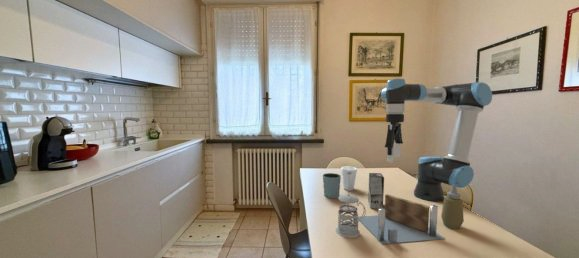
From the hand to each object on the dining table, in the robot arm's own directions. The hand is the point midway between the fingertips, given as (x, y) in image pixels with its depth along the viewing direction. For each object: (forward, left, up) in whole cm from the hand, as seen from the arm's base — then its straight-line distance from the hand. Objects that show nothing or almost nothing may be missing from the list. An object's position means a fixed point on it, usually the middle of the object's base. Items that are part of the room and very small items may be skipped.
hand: (393, 159), depth 114 cm
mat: (+5, +11, -27) cm, 29 cm away
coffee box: (+2, -12, -27) cm, 29 cm away
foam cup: (+5, -40, -27) cm, 48 cm away
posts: (+6, +21, -27) cm, 34 cm away
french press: (+26, +12, -27) cm, 39 cm away
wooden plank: (0, +10, -26) cm, 28 cm away
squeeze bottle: (-19, +14, -27) cm, 36 cm away
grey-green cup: (+20, -29, -27) cm, 44 cm away
